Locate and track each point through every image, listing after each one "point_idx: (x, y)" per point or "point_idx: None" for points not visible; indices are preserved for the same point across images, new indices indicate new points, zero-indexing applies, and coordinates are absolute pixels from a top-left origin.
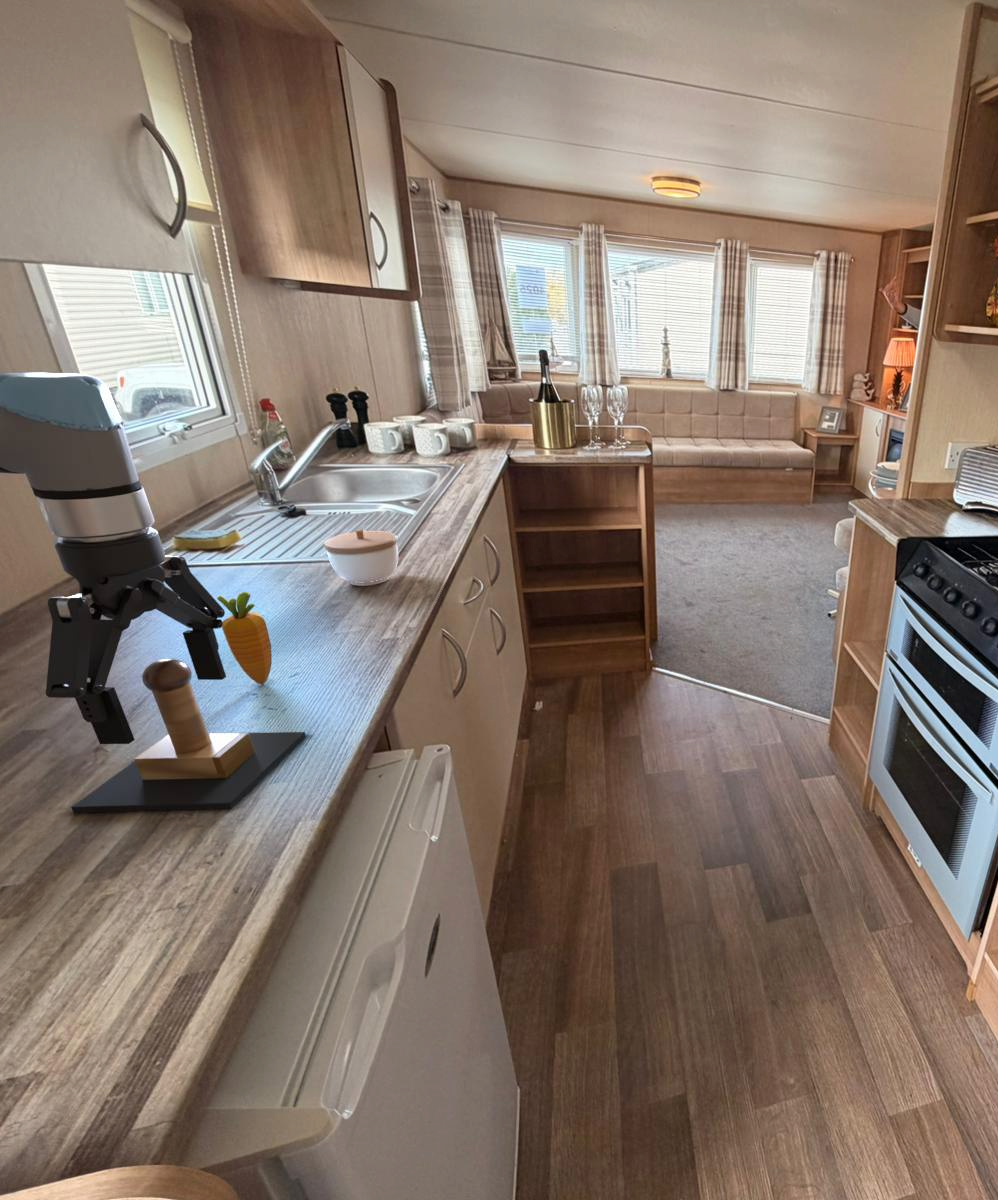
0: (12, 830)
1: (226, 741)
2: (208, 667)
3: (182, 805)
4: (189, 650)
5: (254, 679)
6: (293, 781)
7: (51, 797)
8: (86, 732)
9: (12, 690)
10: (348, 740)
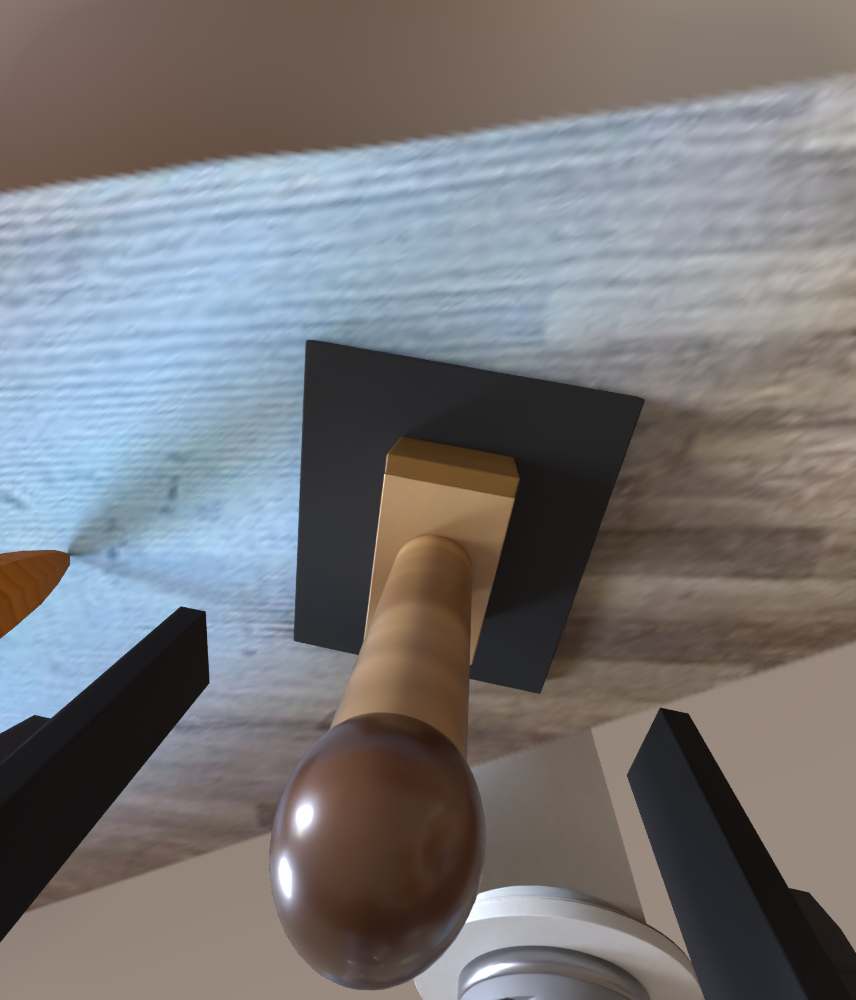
0: (564, 736)
1: (428, 495)
2: (165, 687)
3: (605, 508)
4: (92, 825)
5: (60, 573)
6: (550, 276)
7: (474, 727)
8: (268, 759)
9: (147, 872)
10: (343, 184)
